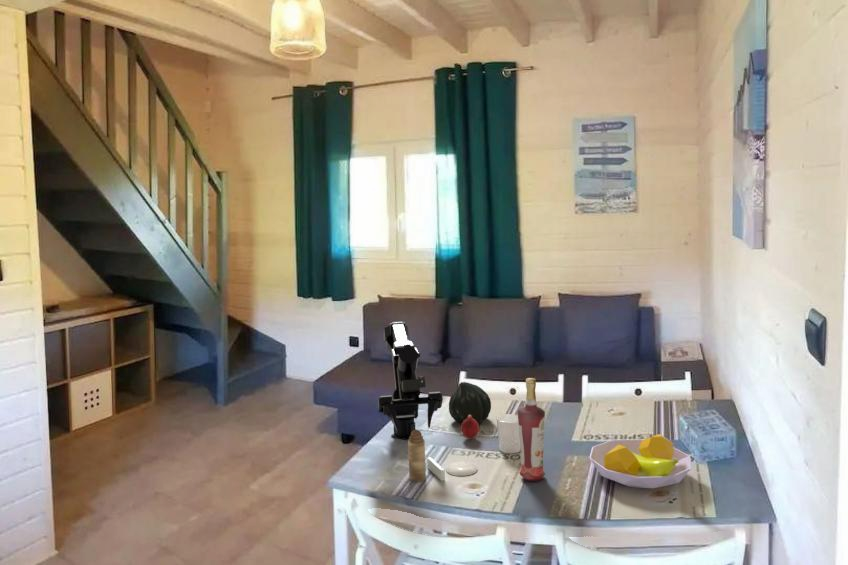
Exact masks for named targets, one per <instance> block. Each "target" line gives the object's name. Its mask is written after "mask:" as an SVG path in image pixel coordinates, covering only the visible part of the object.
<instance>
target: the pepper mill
mask: <svg viewBox="0 0 848 565" xmlns="http://www.w3.org/2000/svg"><path fill="white" fill-rule="evenodd" d="M425 442H426V441H425V439H424V436H423V435H422V432H421V431H420V430H419V429H416V430H413V431H412V432H411V436H410V437H409V439H408V440H407V447H408V448H407V450H408V452H407V453H408V474H409V475H408V476H409V481H411V482H412V483H420V482H424V481H425V480H426V478H427V473H426V472H427V471H426V470H427V469H426V446H425Z"/></svg>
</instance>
